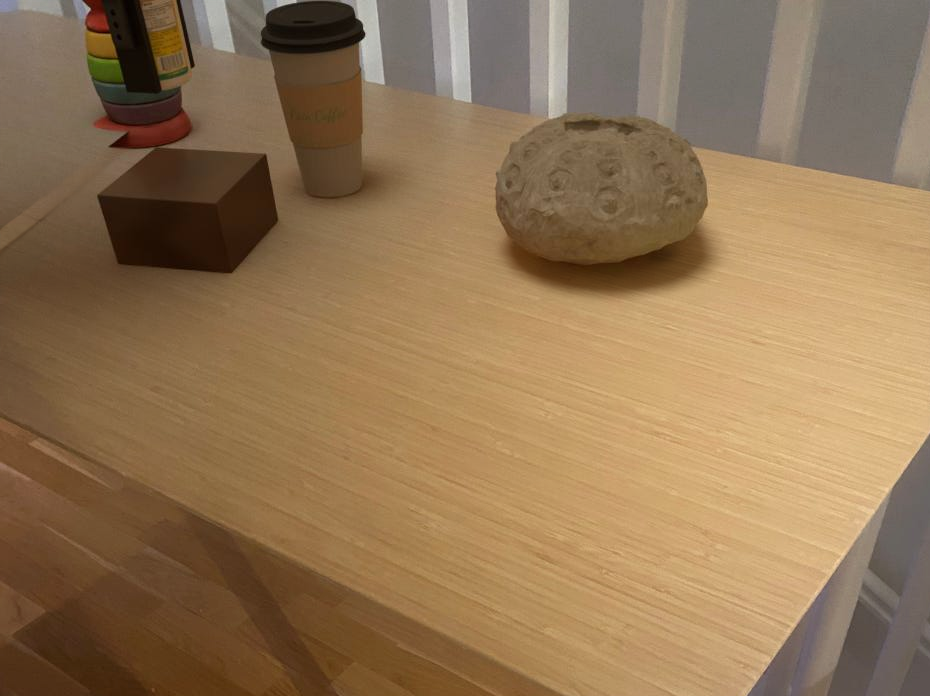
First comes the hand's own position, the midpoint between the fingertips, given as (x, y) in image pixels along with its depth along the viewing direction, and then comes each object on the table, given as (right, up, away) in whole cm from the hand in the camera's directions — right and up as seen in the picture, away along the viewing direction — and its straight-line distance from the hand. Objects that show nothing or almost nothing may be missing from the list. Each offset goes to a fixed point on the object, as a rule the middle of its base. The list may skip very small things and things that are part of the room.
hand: (161, 78), depth 80 cm
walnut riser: (0, -9, +10) cm, 14 cm away
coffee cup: (+11, -1, +18) cm, 21 cm away
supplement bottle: (0, 0, 0) cm, 1 cm away
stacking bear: (-11, +11, +30) cm, 34 cm away
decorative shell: (+36, -11, +6) cm, 39 cm away
